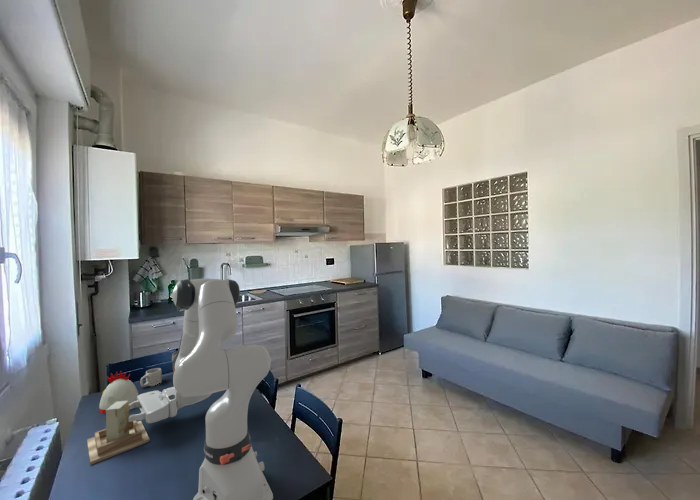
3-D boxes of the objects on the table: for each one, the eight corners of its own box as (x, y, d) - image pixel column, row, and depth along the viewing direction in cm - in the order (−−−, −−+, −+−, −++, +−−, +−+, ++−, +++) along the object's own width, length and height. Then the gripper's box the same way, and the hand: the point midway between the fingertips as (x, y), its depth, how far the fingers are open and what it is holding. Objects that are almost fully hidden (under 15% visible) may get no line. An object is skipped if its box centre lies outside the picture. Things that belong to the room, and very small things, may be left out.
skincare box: (119, 443, 104) (118, 409, 104) (105, 445, 103) (104, 410, 103) (130, 432, 110) (129, 399, 110) (117, 434, 110) (116, 400, 110)
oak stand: (149, 441, 107) (149, 431, 107) (90, 464, 96) (89, 454, 95) (141, 423, 118) (140, 414, 118) (87, 442, 107) (86, 432, 107)
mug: (155, 379, 158) (155, 367, 157) (164, 381, 155) (164, 368, 155) (136, 388, 148) (135, 375, 148) (145, 390, 146) (145, 376, 146)
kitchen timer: (103, 402, 135) (102, 369, 135) (140, 394, 142) (139, 363, 142) (95, 417, 123) (94, 381, 123) (136, 407, 130) (135, 373, 130)
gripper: (162, 383, 125) (121, 395, 116) (176, 400, 111) (130, 416, 101) (163, 398, 126) (122, 411, 116) (176, 417, 111) (131, 434, 101)
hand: (126, 414), depth 108 cm, fingers open, 8 cm apart
